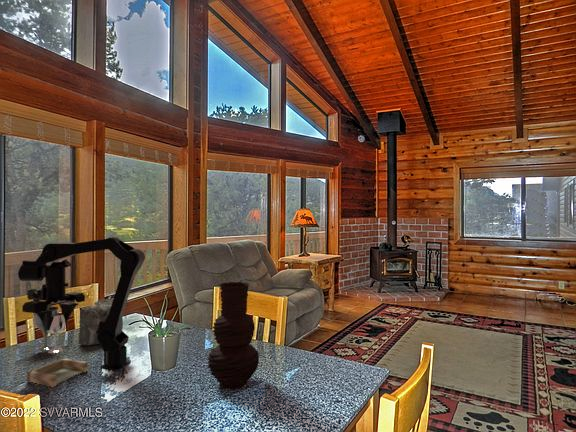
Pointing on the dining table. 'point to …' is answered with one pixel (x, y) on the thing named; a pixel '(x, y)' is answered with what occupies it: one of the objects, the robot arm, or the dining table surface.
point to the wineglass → (56, 328)
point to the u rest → (57, 371)
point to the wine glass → (41, 327)
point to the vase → (233, 339)
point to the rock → (92, 321)
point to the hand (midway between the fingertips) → (55, 328)
